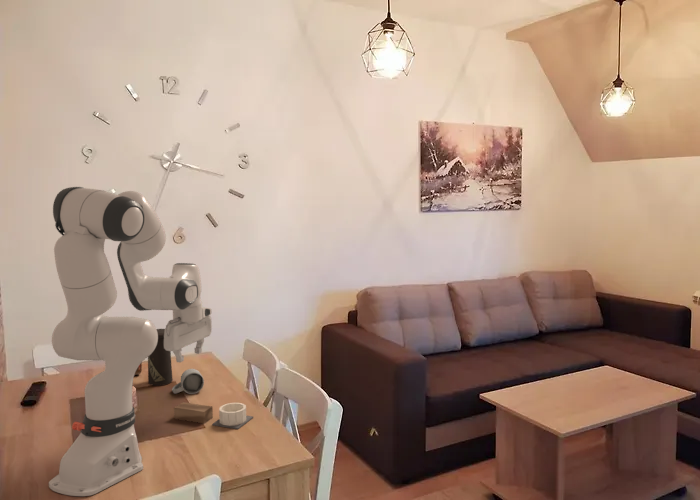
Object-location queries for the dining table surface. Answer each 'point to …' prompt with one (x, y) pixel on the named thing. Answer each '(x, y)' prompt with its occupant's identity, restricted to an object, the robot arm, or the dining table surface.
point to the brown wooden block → (193, 412)
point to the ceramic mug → (189, 382)
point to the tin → (138, 369)
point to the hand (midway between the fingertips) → (189, 357)
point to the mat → (233, 425)
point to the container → (160, 363)
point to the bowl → (232, 414)
